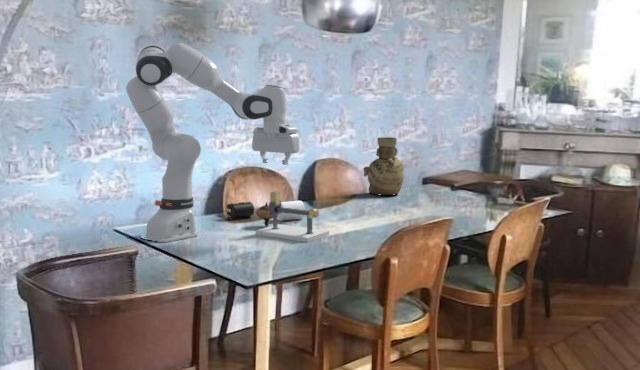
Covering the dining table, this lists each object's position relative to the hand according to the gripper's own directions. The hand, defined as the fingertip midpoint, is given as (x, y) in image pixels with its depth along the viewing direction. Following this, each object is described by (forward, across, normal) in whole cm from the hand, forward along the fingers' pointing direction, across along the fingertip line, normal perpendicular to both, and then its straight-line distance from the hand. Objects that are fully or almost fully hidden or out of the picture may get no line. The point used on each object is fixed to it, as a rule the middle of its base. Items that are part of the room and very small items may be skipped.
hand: (275, 163), depth 269 cm
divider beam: (+25, +8, 0) cm, 27 cm away
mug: (+27, -8, +24) cm, 37 cm away
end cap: (+27, -30, +16) cm, 43 cm away
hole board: (+27, +8, 0) cm, 28 cm away
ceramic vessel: (+27, -7, +108) cm, 111 cm away
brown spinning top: (+27, -10, +8) cm, 30 cm away
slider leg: (+25, 0, 0) cm, 25 cm away
